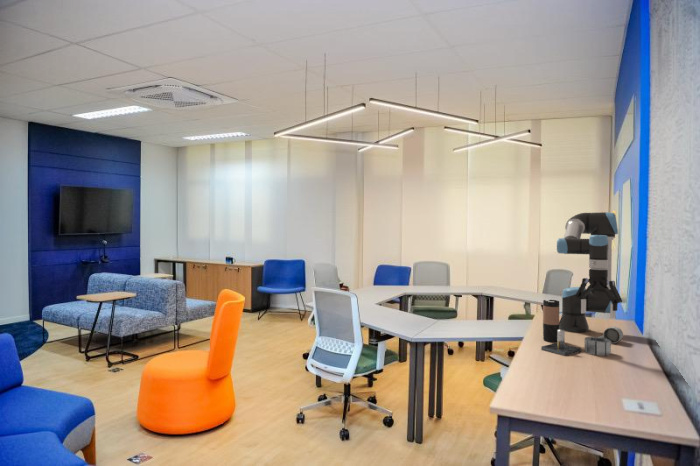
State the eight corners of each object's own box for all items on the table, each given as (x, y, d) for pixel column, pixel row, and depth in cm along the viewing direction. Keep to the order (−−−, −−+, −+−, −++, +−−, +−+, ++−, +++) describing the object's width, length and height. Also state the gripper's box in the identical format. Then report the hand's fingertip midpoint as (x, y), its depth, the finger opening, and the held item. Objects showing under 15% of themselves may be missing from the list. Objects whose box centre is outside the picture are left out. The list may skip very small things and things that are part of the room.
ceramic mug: (624, 341, 233) (623, 326, 233) (620, 344, 227) (620, 328, 227) (600, 338, 240) (600, 323, 240) (596, 341, 234) (596, 326, 234)
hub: (592, 348, 220) (593, 335, 220) (614, 353, 212) (614, 340, 212) (580, 351, 215) (580, 338, 215) (602, 357, 206) (602, 343, 206)
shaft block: (556, 345, 225) (557, 326, 225) (580, 351, 215) (580, 331, 215) (541, 349, 219) (541, 329, 218) (565, 355, 208) (565, 334, 208)
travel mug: (557, 343, 230) (557, 302, 230) (540, 340, 235) (541, 301, 234) (560, 339, 236) (561, 300, 236) (545, 337, 241) (545, 299, 240)
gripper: (567, 267, 221) (567, 311, 221) (622, 271, 200) (621, 321, 200) (577, 266, 225) (576, 310, 225) (631, 270, 204) (630, 319, 204)
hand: (597, 315), depth 213 cm, fingers open, 13 cm apart
